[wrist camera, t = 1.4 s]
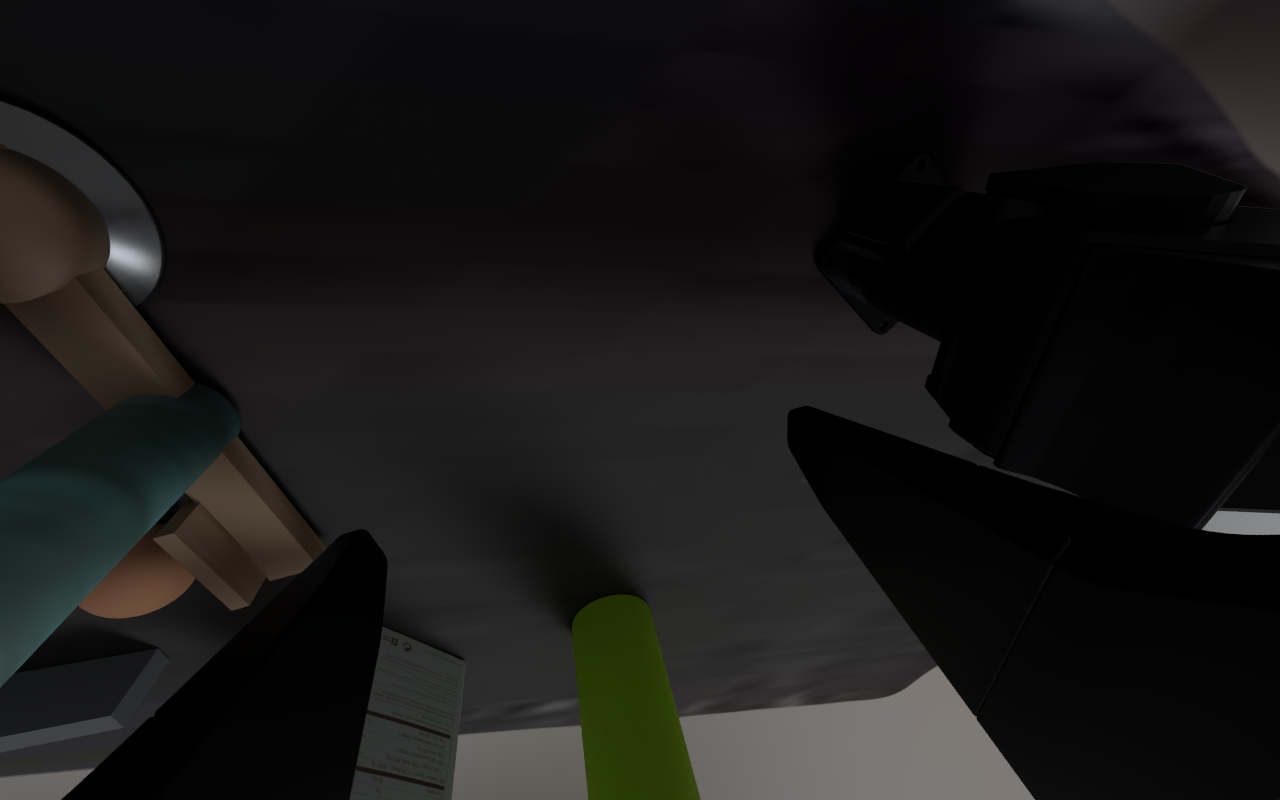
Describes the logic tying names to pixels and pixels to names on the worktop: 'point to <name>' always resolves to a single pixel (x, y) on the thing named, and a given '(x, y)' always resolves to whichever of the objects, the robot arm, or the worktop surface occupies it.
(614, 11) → the worktop surface
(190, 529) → the lever
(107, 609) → the ball
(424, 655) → the supplement box
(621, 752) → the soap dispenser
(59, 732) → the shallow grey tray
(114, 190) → the pivot base
